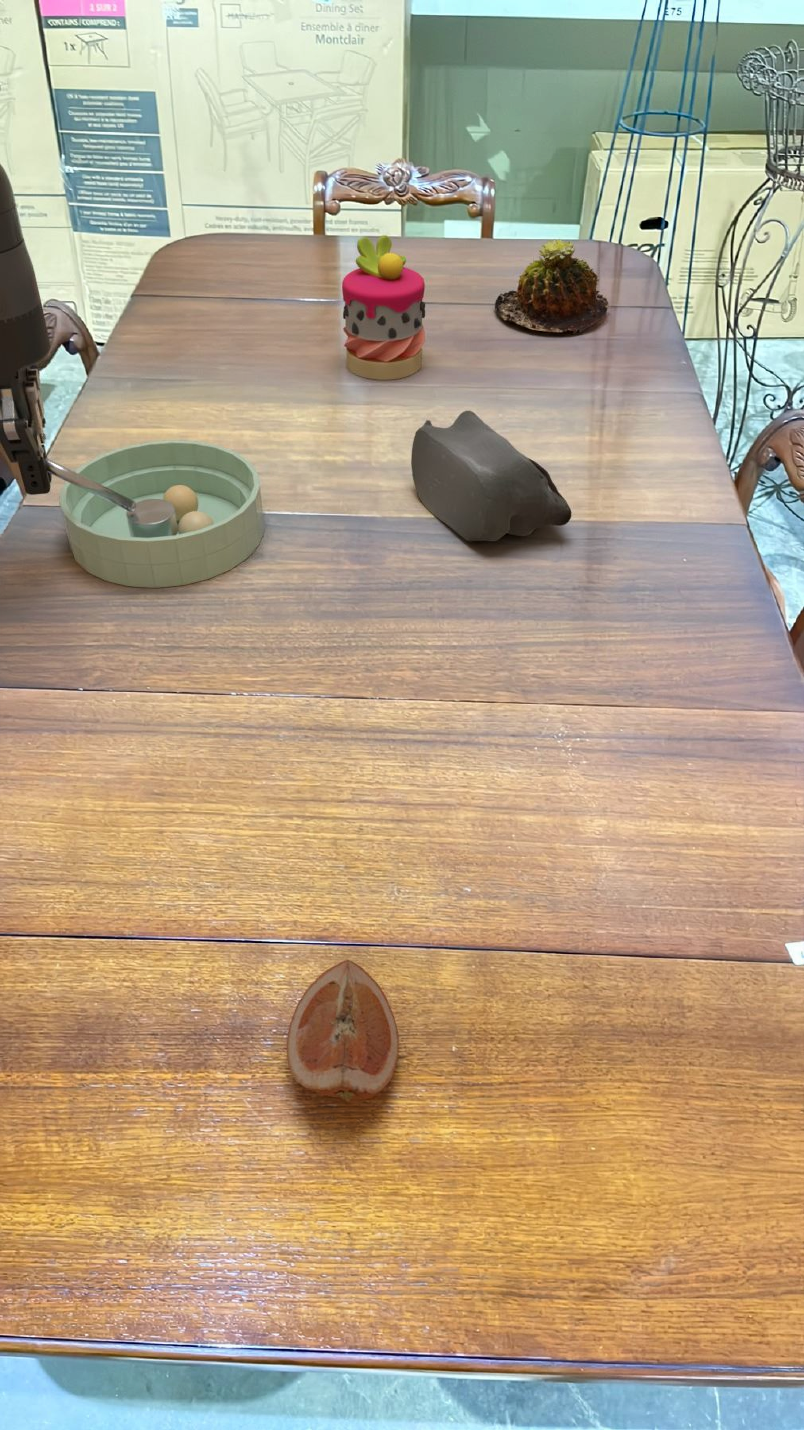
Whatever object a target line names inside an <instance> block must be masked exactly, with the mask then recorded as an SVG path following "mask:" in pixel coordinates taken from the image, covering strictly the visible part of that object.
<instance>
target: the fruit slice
mask: <svg viewBox="0 0 804 1430" xmlns="http://www.w3.org/2000/svg"><path fill="white" fill-rule="evenodd" d="M287 1031H288V1032H287V1038H286V1059H287V1060H286V1061H287V1064H288V1069H289V1072H290V1074H291V1076H292V1078H293V1079H294V1080H295V1082H297V1083H298V1084H299V1085H301V1086H302V1087H303V1088H305V1089H307V1090H310V1091H312V1092H315V1093H318V1094H321V1095H324V1096H328V1097H332V1098H340V1099H343V1100H346V1101H347V1102H350V1101H351V1100H358V1099H359V1100H366V1099H371V1098H373V1097H374V1096H376V1095H377V1094H379V1093H380V1092H381V1091H382V1090H383V1089H384V1088H385V1087H386V1086H387V1085H388V1084H389V1083H390V1081H391V1079H392V1078H393V1076H394V1073H395V1070H396V1067H397V1063H398V1059H399V1049H400V1038H399V1031H398V1025H397V1021H396V1019H395V1016H394V1013H393V1010H392V1008H391V1006H390V1003H389V1001H388V998H387V997H386V994H385V992H384V991H383V988H381V986H380V985H379V983H378V982H377V981H376V980H375V978H373V977H372V976H371V975H370V973H368V972H367V971H366V970H365V969H364V968H363V967H362V966H360V965H359V964H357V963H355V962H354V961H352V960H350V959H346V960H343V961H341V962H339V963H337V964H335V965H333V966H332V967H330V968H328V969H326V971H324V972H322V973H321V974H320V975H319V976H318V977H316V979H315V980H314V981H313V982H312V983H311V984H310V985H309V986H308V988H307V989H306V990H305V991H304V993H303V994H302V995H301V998H300V999H299V1001H298V1002H297V1004H296V1007H295V1009H294V1012H293V1014H292V1017H291V1020H290V1024H289V1027H288V1030H287Z"/></svg>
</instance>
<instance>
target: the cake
mask: <svg viewBox="0 0 804 1430" xmlns="http://www.w3.org/2000/svg"><path fill="white" fill-rule="evenodd" d="M392 245H393V243H392V240H391V238H390V237H389V236H388V235H386V234H382V235H380V236H379V237H378V239H377V242H376V246H375V245H374V243H373V242H372V241H371V239H370V238H369V237H365V236H364V237H360V238H359V239H358V240H357V242H356V248H357V251H358V253H359V256H357V257H356V259H355V264H356V265H357V267H358V268H356V269H354V270H351V271H350V272H348V273H347V274H346V275H344V278H343V279H342V282H341V287H342V288H341V291H342V300H343V302H344V306H343V311H342V318H343V320H345V321H344V322H345V323H344V324H345V326H344V327H343V328H342V330H343V332H344V333H345V335H346V336H347V338H346V340H345V342H344V344H343V347H345V348H346V349H345V351H346V352H345V353H346V367H347V369H348V370H349V372H351V373H353V375H356V376H358V377H362V378H365V379H371V380H378V381H386V380H387V381H389V380H390V381H391V380H398V379H404V378H407V377H410V376H412V375H414V374H415V373H417V372H418V371H419V370H420V369H421V368H422V366H423V365H422V361H423V360H422V359H423V358H422V357H423V356H422V355H423V346H424V344H425V342H426V331H425V328H424V325H423V319H425V317H426V303H425V302H424V301H423V300H424V296H425V289H426V287H425V286H426V285H425V284H426V283H425V280H424V278H423V276H422V275H421V274H420V273H418V272H417V271H415V270H413V269H411V268H409V267H404V266H405V265H406V263H407V258H406V257H405V256H404V255H402V254H397V253H394V252H391V250H392ZM375 248H376V249H375Z"/></svg>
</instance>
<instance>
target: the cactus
mask: <svg viewBox="0 0 804 1430" xmlns="http://www.w3.org/2000/svg"><path fill="white" fill-rule="evenodd" d="M574 246H575V244H574V243H573V242H572V241H569V240H568V241H563V240H561V238H559V239H558V240H557V239H554V240H553V241H552V240H549V241H548V242H547V243H545V244H543V243H542V245H541V247H542V248H541V249H539V251H538V252H539V255H538V258H539V259H536V260H535V259H532V261H533V263H532V262H530V263H529V265H527V266H526V268H525V269H524V271H523V273H522V274H521V275H519V276H518V278H519V280H518V282H517V283H518V286H517V289H516V290H509V291H508V292H503V293H500V294H499V295H498V296H497V298H496V299H495V302H494V308H495V310H496V311H495V312H496V314H497V315H498V316H499V318H501V319H503V320H504V321H509V322H514V323H515V324H517V325H520V326H521V327H525V328H527V329H529V330H533V331H542V332H547V333H567V332H568V331H569V332H573V334H574V335H575V334H576V333H577V332H578V331H579V332H584V331H585V330H587V329H588V328H589V327H591V326H592V325H594V324H596V323H597V322H600V320H602V319H604V317H605V316H606V314H607V311H608V309H609V305H610V304H609V301H608V299H607V297H606V296H603V294H600V290H597V285H598V282H599V281H600V279H599V278H598V275H597V274H596V272H595V270H594V268H591V267H590V265H589V264H588V262H587V261H585V259H581V260H579V258H578V257H572V256H573V254H574V253H575V251H576V247H574ZM542 257H543V258H542ZM601 290H602V289H601Z"/></svg>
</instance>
